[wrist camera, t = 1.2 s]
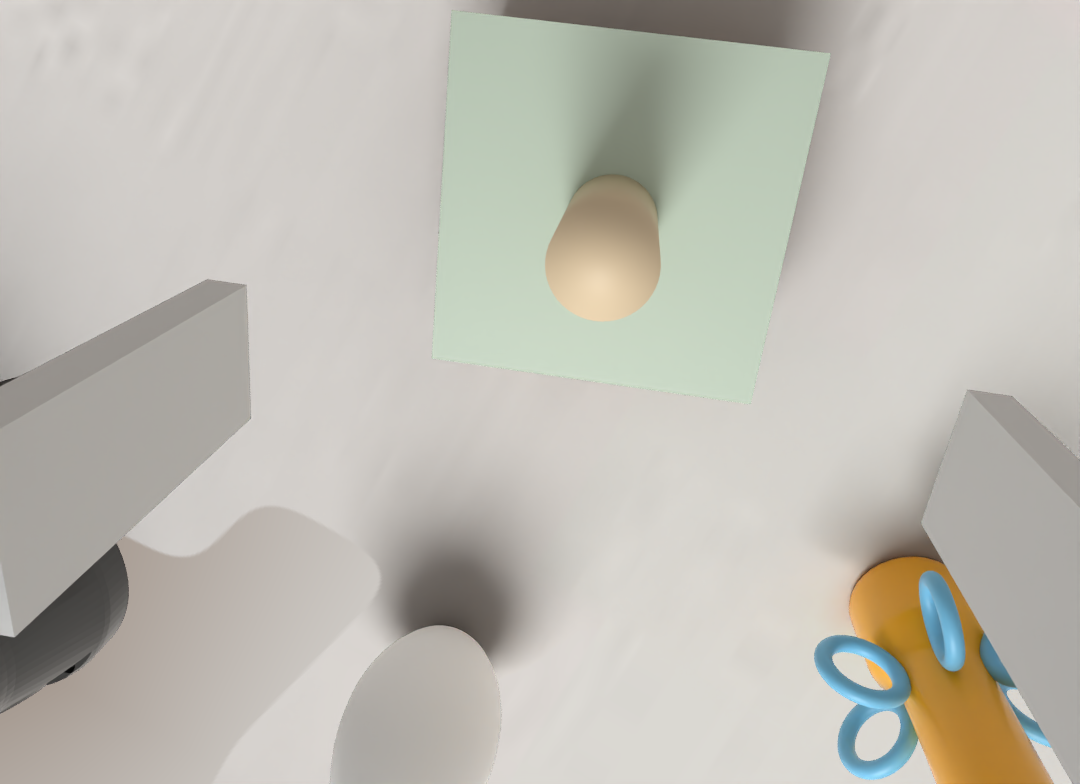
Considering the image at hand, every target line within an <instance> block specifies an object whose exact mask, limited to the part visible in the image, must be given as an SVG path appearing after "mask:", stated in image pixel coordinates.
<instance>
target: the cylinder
mask: <svg viewBox="0 0 1080 784" xmlns="http://www.w3.org/2000/svg"><path fill="white" fill-rule="evenodd" d="M849 614H850V618H851V622H852V625H853V627H854V630H855V633H856V636H857V637H854V636H848V635H835V636H830V637H827V638H825V639H824V640H822V641H821V642H820V643H819V644H818V645H817V647H816V649H815V653H814V660H815V664H816V667H817V670H818V672H819V673H820V675H821V676H822V678H823V679H824V680H825V681H826V683H827V684H828V685H829V686H830V687H832V688H833V689H834V690H835V691H836V692H838V693H839V694H841V695H842V696H844V697H845V698H847V699H849V700H851V701H853V702H855V703H857V705H856V706H855V707H854V708H853V709H852V710H851V711H850V712H849V714H848V715H847V717H846V718H845V720H844V722H843V724H842V726H841V728H840V732H839V736H838V752H839V756H840V759H841V761H842V763H843V765H844V766H845V767H846V769H847V770H848V771H849V772H851V773H852V774H853V775H855V776H857V777H859V778H862V779H868V780H875V779H881V778H884V777H887V776H889V775H891V774H893V773H895V772H896V771H898V770H899V769H900V768H901V767H902V766H903V765H904V764H905V763H906V762H907V761H908V760H909V758H910V757H911V755H912V753H913V752H914V750H915V747H916V745H917V741H918V739H919V741H920V744H921V746H922V749H923V751H924V754H925V756H926V759H927V761H928V764H929V766H930V769H931V771H932V774H933V776H934V779H935V781H936V784H1054V783H1053V781H1052V779H1051V777H1050V776H1049V774H1048V772H1047V770H1046V769H1045V767H1044V765H1043V763H1042V761H1041V760H1040V758H1039V756H1038V754H1037V752H1036V751H1035V749H1034V747H1033V745H1032V743H1031V742H1030V740H1029V739H1031V740H1033V741H1035V742H1038V743H1040V744H1042V745H1045V746H1048V747H1051V746H1050V744H1049V742H1048V741H1047V739H1046V737H1045V735H1044V734H1043V732H1042V730H1041V729H1040V727H1039V725H1038V723H1037V722H1035V721H1034V720H1032V719H1030V718H1029V717H1027V716H1026V715H1024V714H1023V713H1022V712H1021V711H1019V710H1018V709H1017V708H1016V707H1015V706H1014V705H1013V704H1012V702H1011V701H1010V700H1009V698H1008V696H1007V691H1008V690H1010V689H1017V687H1016V686H1015V684H1014V682H1013V681H1012V679H1011V677H1010V675H1009V674H1008V672H1007V670H1006V668H1005V667H1004V665H1003V663H1002V662H1001V660H1000V658H999V656H998V655H997V653H996V651H995V650H994V648H993V646H992V644H991V643H990V641H989V639H988V638H987V636H986V634H985V632H984V631H983V629H982V627H981V626H980V624H979V622H978V620H977V619H976V617H975V615H974V614H973V612H972V610H971V608H970V607H969V605H968V603H967V602H966V600H965V598H964V596H963V595H962V593H961V591H960V590H959V588H958V586H957V584H956V583H955V581H954V579H953V577H952V576H951V574H950V572H949V571H948V569H947V567H946V565H945V564H943V563H940V562H938V561H936V560H932V559H929V558H925V557H915V556H913V557H901V558H896V559H891V560H888V561H886V562H883V563H881V564H879V565H877V566H876V567H874V568H872V569H870V570H869V571H868V572H867V573H866V574H864V575H863V576H862V577H861V579H860V580H859V581H858V582H857V584H856V585H855V588H854V589H853V591H852V594H851V598H850V603H849ZM839 652H849V653H854V654H857V655H860V656H863V657H864V658H865V661H866V663H867V666H868V668H869V671H870V673H871V675H872V676H873V678H874V679H875V681H876V682H877V683H878V684H879V685H880V686H881V687H882V688H883V689H884V690H873V689H869V688H866V687H863V686H861V685H859V684H857V683H855V682H853V681H851V680H850V679H848V678H847V677H846V676H844V675H843V674H842V673H841V672H840V671H839V670H838V669H837V668H836V666H835V665H834V663H833V661H832V656H833V655H834V654H835V653H839ZM882 711H892V712H894V713H896V714H897V715H898V717H899V719H900V723H901V729H900V734H899V737H898V739H897V741H896V743H895V745H894V746H893V747H892V749H891V750H890V751H889V752H888V753H887V754H885V755H884V756H882V757H881V758H879V759H876V760H873V761H863V760H861V759H860V758H858V756H857V755H856V752H855V739H856V736H857V733H858V731H859V729H860V728H861V726H862V725H863V724H864V722H865V721H866V720H867V719H869V718H870V717H871V716H873V715H874V714H876V713H879V712H882ZM1051 748H1052V747H1051Z"/></svg>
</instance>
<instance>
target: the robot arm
mask: <svg viewBox="0 0 1080 784" xmlns="http://www.w3.org/2000/svg"><path fill="white" fill-rule="evenodd" d="M250 419H251V403H250V373H249V342H248V312H247V285H243V284H236V283H229V282H222V281H215V280H208V279H207V280H205V281H203V282H201V283H199V284H197V285H195V286H193V287H191V288H189V289H187V290H186V291H184V292H182V293H180V294H178V295H176V296H174V297H172V298H170V299H168V300H166V301H164V302H162V303H160V304H159V305H157V306H155V307H153V308H151V309H149V310H147V311H145V312H143V313H141V314H139V315H137V316H135V317H133V318H131V319H130V320H128V321H126V322H124V323H122V324H120V325H118V326H116V327H114V328H112V329H110V330H108V331H106V332H104V333H103V334H101V335H99V336H97V337H95V338H93V339H91V340H89V341H87V342H85V343H83V344H81V345H79V346H77V347H75V348H74V349H72V350H70V351H68V352H66V353H64V354H62V355H60V356H58V357H56V358H54V359H52V360H50V361H48V362H46V363H45V364H43V365H41V366H39V367H37V368H35V369H33V370H31V371H29V372H27V373H25V374H23V375H21V376H19V377H16V378H12V379H9V380H5V381H2V382H0V713H3V712H4V711H6V710H8V709H10V708H12V707H13V706H15V705H17V704H19V703H20V702H22V701H24V700H25V699H27V698H29V697H30V696H32V695H33V694H35V693H36V692H38V691H39V690H41V689H42V688H43V687H44V686H46V685H49V684H52V683H55V682H58V681H60V680H62V679H64V678H66V677H68V676H70V675H72V674H73V673H75V672H76V671H78V670H79V669H81V668H82V667H83V666H85V665H86V664H87V663H88V662H89V661H90V660H91V659H92V658H93V657H94V656H95V655H96V654H97V653H98V652H99V651H100V650H101V649H102V647H103V646H104V645H105V644H106V643H107V642H108V641H109V640H110V639H111V638H112V637H113V635H114V634H115V633H116V631H117V630H118V628H119V627H120V625H121V623H122V621H123V619H124V616H125V613H126V609H127V604H128V596H129V593H128V592H129V587H128V578H127V572H126V568H125V564H124V561H123V558H122V555H121V553H120V550H119V548H118V546H117V544H116V543H117V542H118V541H119V540H120V539H121V538H122V537H123V536H125V535H126V534H127V533H128V532H129V531H130V530H131V529H132V528H133V527H134V526H135V525H136V524H137V523H139V522H140V521H141V520H142V519H143V518H144V517H145V516H146V515H147V514H148V513H149V512H150V511H151V510H153V509H154V508H155V507H156V506H157V505H158V504H159V503H160V502H161V501H162V500H163V499H164V498H166V497H167V496H168V495H169V494H170V493H171V492H172V491H173V490H174V489H175V488H176V487H177V486H178V485H180V484H181V483H182V482H183V481H184V480H185V479H186V478H187V477H188V476H189V475H190V474H191V473H193V472H194V471H195V470H196V469H197V468H198V467H199V466H200V465H201V464H202V463H203V462H204V461H205V460H207V459H208V458H209V457H210V456H211V455H212V454H213V453H214V452H215V451H216V450H217V449H218V448H219V447H221V446H222V445H223V444H224V443H225V442H226V441H227V440H228V439H229V438H230V437H231V436H232V435H234V434H235V433H236V432H237V431H238V430H239V429H240V428H241V427H242V426H243V425H244V424H245V423H246V422H248V421H249V420H250ZM921 524H922V526H923V528H924V529H925V531H926V533H927V535H928V536H929V538H930V540H931V541H932V543H933V545H934V547H935V548H936V550H937V552H938V553H939V555H940V557H941V559H942V560H943V562H944V564H945V565H946V567H947V569H948V571H949V572H950V574H951V576H952V577H953V579H954V581H955V583H956V584H957V586H958V588H959V590H960V591H961V593H962V595H963V596H964V598H965V600H966V602H967V603H968V605H969V607H970V608H971V610H972V612H973V614H974V615H975V617H976V619H977V620H978V622H979V624H980V626H981V627H982V629H983V631H984V632H985V634H986V636H987V638H988V639H989V641H990V643H991V644H992V646H993V648H994V650H995V651H996V653H997V655H998V656H999V658H1000V660H1001V662H1002V663H1003V665H1004V667H1005V668H1006V670H1007V672H1008V674H1009V675H1010V677H1011V679H1012V681H1013V682H1014V684H1015V686H1016V687H1017V689H1018V691H1019V693H1020V694H1021V696H1022V698H1023V699H1024V701H1025V703H1026V705H1027V706H1028V708H1029V710H1030V711H1031V713H1032V715H1033V717H1034V718H1035V720H1036V722H1037V723H1038V725H1039V727H1040V729H1041V730H1042V732H1043V734H1044V735H1045V737H1046V739H1047V741H1048V742H1049V744H1050V746H1051V747H1052V749H1053V751H1054V753H1055V754H1056V756H1057V758H1058V759H1059V761H1060V763H1061V765H1062V766H1063V768H1064V770H1065V772H1066V773H1067V775H1068V777H1069V778H1070V780H1071V782H1072V784H1080V460H1079V459H1078V458H1077V457H1076V456H1075V455H1074V454H1073V453H1072V452H1071V451H1070V450H1069V449H1068V448H1067V447H1065V446H1064V445H1063V444H1062V443H1061V442H1060V441H1059V440H1058V439H1057V438H1056V437H1055V436H1054V435H1053V434H1052V433H1051V432H1050V431H1048V430H1047V429H1046V428H1045V427H1044V426H1043V425H1042V424H1041V423H1040V422H1039V421H1038V420H1037V419H1036V418H1035V417H1034V416H1033V415H1031V414H1030V413H1029V412H1028V411H1027V410H1026V409H1025V408H1024V407H1023V406H1022V405H1021V404H1020V403H1019V402H1018V401H1017V400H1016V399H1015V398H1013V397H1012V396H1007V395H1000V394H993V393H987V392H980V391H973V390H967V392H966V395H965V398H964V401H963V403H962V406H961V409H960V412H959V415H958V418H957V421H956V424H955V426H954V429H953V432H952V435H951V438H950V441H949V444H948V446H947V449H946V452H945V455H944V458H943V461H942V464H941V467H940V469H939V472H938V475H937V478H936V481H935V484H934V487H933V490H932V492H931V495H930V498H929V501H928V504H927V507H926V510H925V513H924V515H923V518H922V521H921Z"/></svg>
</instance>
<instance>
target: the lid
mask: <svg viewBox="0 0 1080 784" xmlns="http://www.w3.org/2000/svg"><path fill="white" fill-rule="evenodd" d="M830 55H831V53H823V52H815V51H806V50H797V49H788V48H779V47H771V46H762V45H753V44H744V43H736V42H727V41H718V40H709V39H700V38H692V37H683V36H674V35H665V34H657V33H648V32H639V31H630V30H622V29H613V28H604V27H595V26H586V25H578V24H569V23H560V22H551V21H543V20H534V19H525V18H516V17H508V16H499V15H490V14H481V13H472V12H464V11H455V10H452V13H451V31H450V48H449V66H448V83H447V100H446V118H445V135H444V153H443V170H442V188H441V205H440V223H439V240H438V258H437V275H436V293H435V310H434V328H433V345H432V359H439V360H446V361H453V362H460V363H467V364H474V365H481V366H487V367H494V368H501V369H508V370H515V371H522V372H529V373H536V374H543V375H550V376H557V377H564V378H571V379H578V380H585V381H592V382H599V383H606V384H612V385H619V386H626V387H633V388H640V389H647V390H654V391H661V392H668V393H675V394H682V395H689V396H696V397H703V398H710V399H717V400H724V401H731V402H737V403H744V404H751V401H752V396H753V392H754V387H755V383H756V379H757V374H758V370H759V366H760V361H761V357H762V352H763V348H764V344H765V339H766V335H767V331H768V326H769V322H770V318H771V313H772V309H773V304H774V300H775V296H776V291H777V287H778V283H779V278H780V274H781V269H782V265H783V261H784V256H785V252H786V248H787V243H788V239H789V235H790V230H791V226H792V221H793V217H794V213H795V208H796V204H797V200H798V195H799V191H800V186H801V182H802V178H803V173H804V169H805V165H806V160H807V156H808V152H809V147H810V143H811V138H812V134H813V130H814V125H815V121H816V117H817V112H818V108H819V104H820V99H821V95H822V90H823V86H824V82H825V77H826V73H827V69H828V64H829V60H830Z"/></svg>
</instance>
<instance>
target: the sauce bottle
mask: <svg viewBox="0 0 1080 784" xmlns="http://www.w3.org/2000/svg"><path fill="white" fill-rule="evenodd" d="M501 717H502V712H501V700H500V691H499V686H498V682H497V679H496V676H495V673H494V670H493V667H492V665H491V663H490V661H489V659H488V657H487V655H486V654H485V652H484V650H483V649H482V647H481V646H480V645H479V644H478V642H477V641H475V640H474V639H473V638H472V637H471V636H470V635H468V634H467V633H465V632H463V631H462V630H459V629H457V628H454V627H450V626H443V625H435V626H428V627H424V628H421V629H418V630H415V631H413V632H411V633H409V634H407V635H405V636H403V637H402V638H400V639H398V640H397V641H396V642H394V643H393V644H392V645H390V646H389V647H388V648H387V649H385V650H384V651H383V652H382V653H381V654H380V655H379V656H378V657H377V658H376V659H375V660H374V662H373V663H372V664H371V665H370V666H369V668H368V669H367V670H366V671H365V673H364V674H363V675H362V677H361V678H360V680H359V682H358V683H357V685H356V687H355V689H354V691H353V693H352V695H351V697H350V699H349V701H348V704H347V706H346V709H345V711H344V713H343V716H342V719H341V721H340V725H339V728H338V731H337V735H336V739H335V743H334V748H333V754H332V761H331V770H330V784H487V782H488V779H489V776H490V774H491V771H492V768H493V764H494V761H495V757H496V753H497V748H498V742H499V737H500V730H501Z"/></svg>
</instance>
